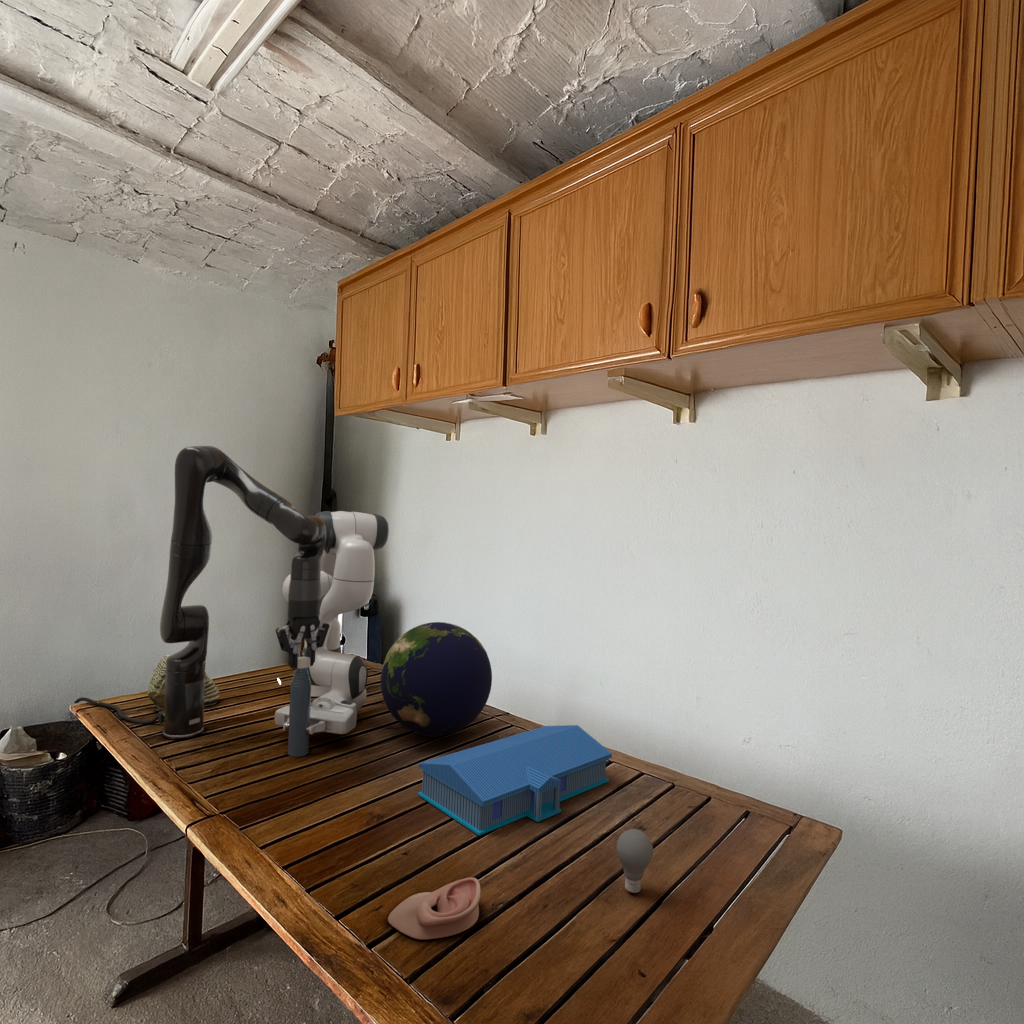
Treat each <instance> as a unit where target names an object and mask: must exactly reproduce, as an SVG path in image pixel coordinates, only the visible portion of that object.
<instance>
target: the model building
mask: <svg viewBox="0 0 1024 1024" xmlns="http://www.w3.org/2000/svg"><path fill="white" fill-rule="evenodd" d="M612 758H613V753H612V752H611V751H610V750H609V749H608V748H606V747H605V746H604V745H603V744H601V743H600V742H599V741H597V740H596V739H595V738H594V737H593V736H591V735H590V733H588V732H587V731H586V730H584V729H583V728H582V727H581V726H579V725H578V724H571V725H569V724H567V725H544V726H541V727H538V728H533V729H530V730H526V731H524V732H520V733H517V734H514V735H510V736H505V737H504V738H500V739H497V740H493V741H489V742H486V743H484V744H480V745H476V746H473V747H469V748H466V749H463V750H459V751H457V752H456V751H455V752H452V753H449V754H446V755H442V756H439V757H436V758H432V759H428V760H425V761H422V762H418V769H420V770H421V771H422V782H421V783H422V785H421V791H419V792H417V796H419V797H420V798H421V799H423V800H425V802H428V803H429V804H431V805H432V806H433V807H435V808H436V809H438V810H439V811H441V812H443V813H444V814H445V815H447V816H449V817H450V818H452V819H453V820H455V821H456V822H458V823H459V824H461V825H462V826H464V827H465V828H467V829H468V830H470V831H471V832H473V833H474V834H476V835H477V836H478V837H480V836H482V835H485V834H487V833H489V832H491V831H494V830H496V829H499V828H501V827H504V826H506V825H508V824H511V823H514V822H515V821H518V820H520V819H524V818H525V817H527V818H530V819H531V820H532V821H535V822H536V823H539V822H541V821H543V820H546V819H549V818H551V817H553V816H555V815H558V814H560V813H562V808H561V807H560V806H561V805H560V804H561V802H563V801H566V800H568V799H570V798H573V797H575V796H577V795H580V794H582V793H585V792H587V791H590V790H591V789H594V788H597V787H599V786H601V785H603V784H606V783H609V782H610V779H609V778H607V777H606V775H607V774H606V773H607V760H610V759H612Z"/></svg>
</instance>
